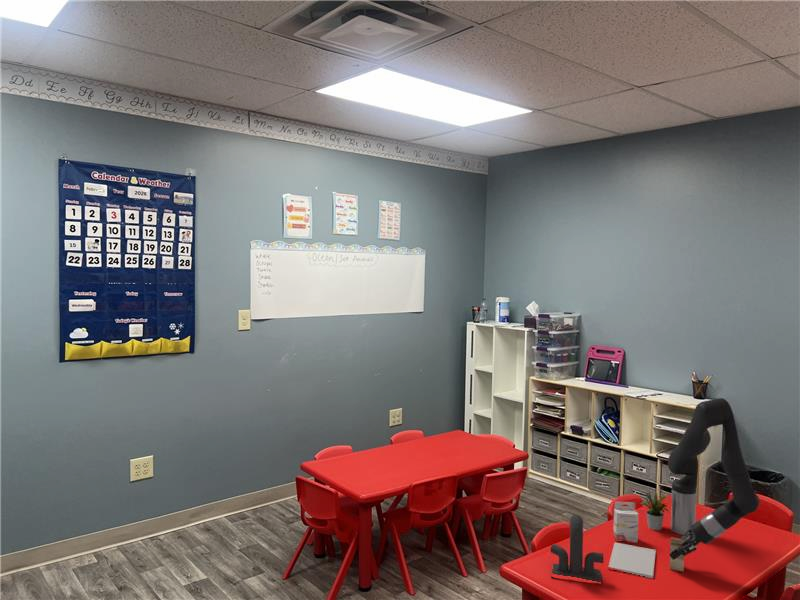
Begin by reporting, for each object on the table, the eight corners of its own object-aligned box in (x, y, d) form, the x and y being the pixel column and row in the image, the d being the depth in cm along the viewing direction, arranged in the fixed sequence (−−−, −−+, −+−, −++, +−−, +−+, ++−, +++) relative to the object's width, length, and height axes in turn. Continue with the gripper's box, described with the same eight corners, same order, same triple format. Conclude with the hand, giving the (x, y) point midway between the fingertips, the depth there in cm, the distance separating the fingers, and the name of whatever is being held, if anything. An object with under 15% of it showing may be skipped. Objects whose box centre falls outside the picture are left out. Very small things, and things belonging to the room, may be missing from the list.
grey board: (614, 544, 238) (614, 542, 238) (655, 552, 231) (655, 549, 231) (608, 569, 218) (608, 566, 218) (652, 578, 212) (653, 575, 212)
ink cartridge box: (616, 541, 241) (616, 505, 240) (613, 536, 246) (613, 501, 245) (638, 542, 240) (639, 506, 239) (634, 537, 245) (635, 501, 244)
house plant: (633, 531, 251) (633, 492, 250) (634, 518, 263) (634, 482, 263) (670, 537, 245) (671, 497, 244) (669, 524, 258) (670, 486, 257)
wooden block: (670, 563, 222) (670, 537, 222) (683, 566, 220) (684, 539, 220) (669, 568, 218) (670, 542, 218) (683, 571, 216) (684, 544, 216)
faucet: (601, 564, 222) (602, 511, 221) (603, 585, 207) (604, 528, 206) (550, 557, 227) (551, 505, 226) (549, 577, 212) (550, 522, 211)
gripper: (700, 512, 222) (664, 538, 227) (701, 527, 209) (662, 554, 214) (716, 528, 220) (679, 554, 225) (718, 544, 207) (678, 571, 212)
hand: (671, 554), depth 220 cm, fingers closed on wooden block, 4 cm apart
